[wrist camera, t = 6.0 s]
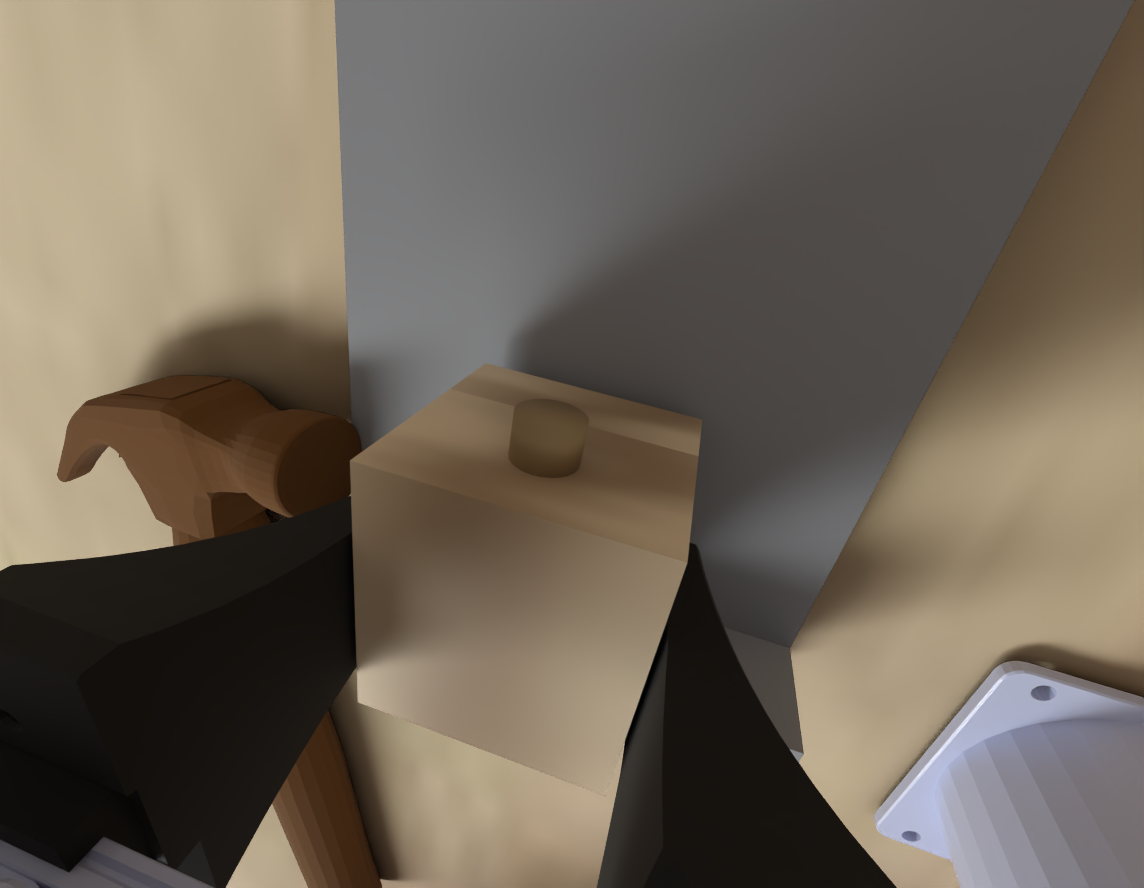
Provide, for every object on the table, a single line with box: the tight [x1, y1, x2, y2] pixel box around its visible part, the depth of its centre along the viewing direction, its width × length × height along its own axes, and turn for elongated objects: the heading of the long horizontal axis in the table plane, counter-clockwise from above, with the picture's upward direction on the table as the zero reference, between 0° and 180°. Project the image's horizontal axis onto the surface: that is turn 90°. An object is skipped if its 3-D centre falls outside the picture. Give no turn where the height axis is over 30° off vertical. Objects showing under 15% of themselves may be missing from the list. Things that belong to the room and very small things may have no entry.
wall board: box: [335, 0, 1134, 762], centre depth 11 cm, size 13×18×4 cm
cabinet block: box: [350, 363, 702, 796], centre depth 11 cm, size 5×6×5 cm
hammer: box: [57, 375, 382, 888], centre depth 22 cm, size 12×3×30 cm
